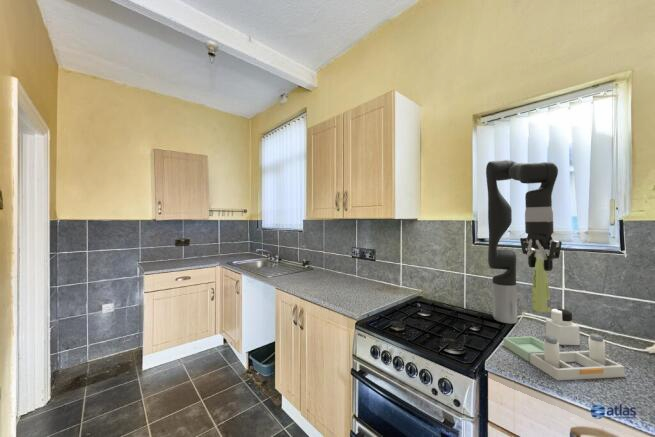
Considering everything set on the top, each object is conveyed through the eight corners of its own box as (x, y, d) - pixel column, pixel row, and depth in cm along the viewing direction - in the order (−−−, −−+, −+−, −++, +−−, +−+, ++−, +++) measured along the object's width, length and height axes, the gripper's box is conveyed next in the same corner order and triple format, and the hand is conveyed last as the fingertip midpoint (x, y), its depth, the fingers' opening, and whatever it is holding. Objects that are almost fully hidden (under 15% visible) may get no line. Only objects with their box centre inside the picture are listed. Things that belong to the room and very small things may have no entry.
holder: (530, 362, 85) (530, 353, 85) (590, 359, 86) (590, 350, 86) (558, 381, 75) (558, 370, 75) (626, 377, 76) (625, 367, 76)
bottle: (541, 367, 82) (540, 335, 82) (552, 367, 82) (551, 335, 82) (552, 374, 78) (550, 340, 78) (563, 373, 78) (562, 340, 78)
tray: (503, 345, 96) (503, 337, 96) (532, 344, 97) (532, 336, 97) (528, 361, 85) (528, 352, 85) (560, 360, 86) (560, 351, 86)
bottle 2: (586, 365, 82) (584, 333, 83) (596, 364, 83) (595, 333, 83) (598, 371, 79) (597, 338, 79) (609, 371, 79) (608, 338, 79)
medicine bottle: (564, 337, 102) (563, 307, 102) (580, 345, 95) (579, 313, 95) (545, 336, 103) (544, 306, 103) (559, 345, 96) (558, 313, 96)
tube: (527, 307, 91) (525, 253, 91) (540, 306, 92) (538, 252, 92) (541, 313, 86) (540, 255, 85) (555, 312, 86) (553, 255, 86)
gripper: (512, 220, 95) (513, 265, 96) (547, 221, 81) (549, 274, 81) (531, 219, 96) (532, 264, 96) (569, 220, 81) (571, 272, 82)
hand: (540, 268), depth 89 cm, fingers closed on tube, 5 cm apart
